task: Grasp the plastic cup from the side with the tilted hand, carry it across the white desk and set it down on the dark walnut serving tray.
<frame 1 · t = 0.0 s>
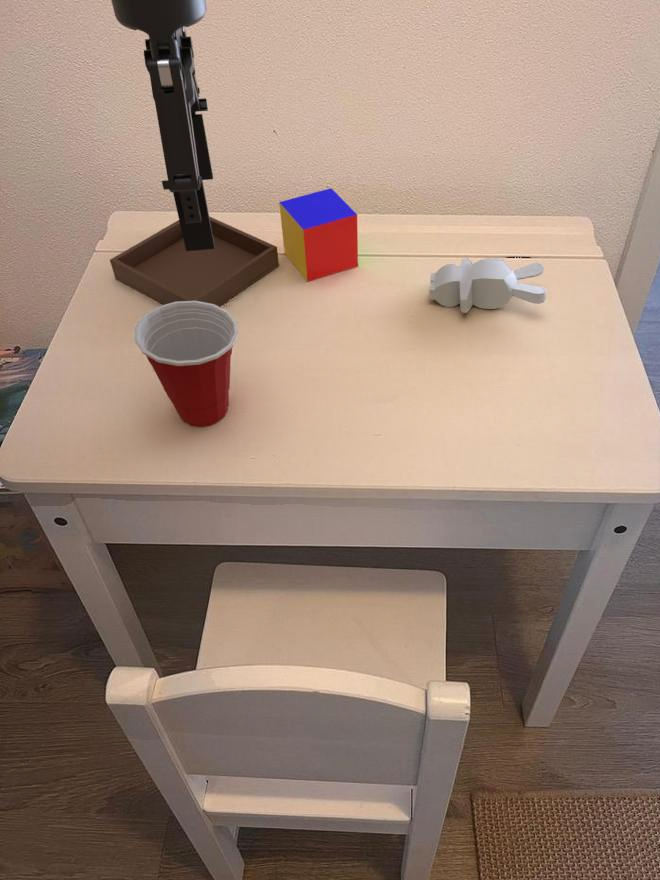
hand: (200, 211, 73), 21 cm above the table, tool pointing down, fingers open, 13 cm apart
plastic cup: (206, 410, 85), on the table
tray: (198, 272, 102), on the table
cube: (320, 260, 104), on the table
bunny figurine: (484, 301, 98), on the table
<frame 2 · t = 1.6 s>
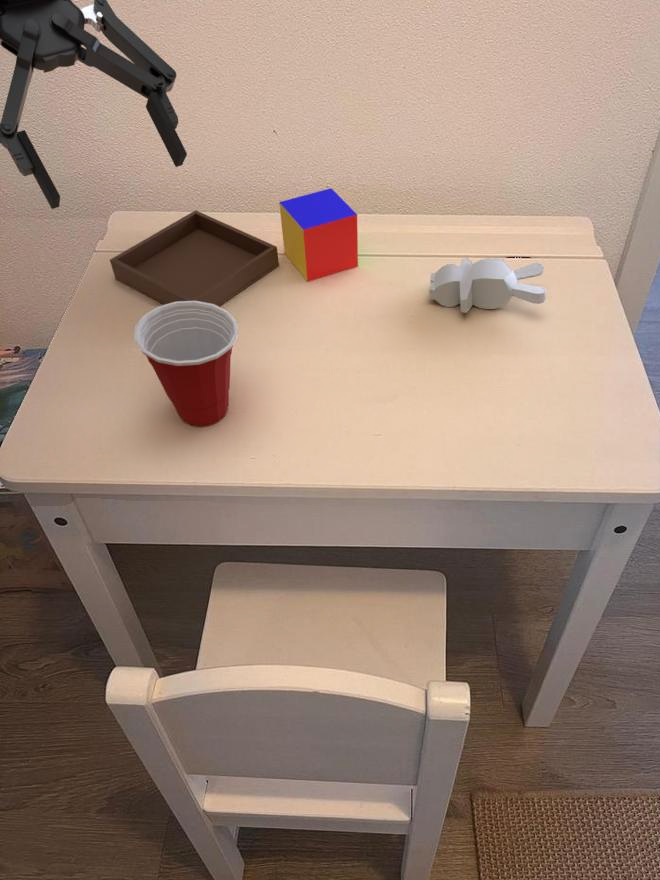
hand: (121, 181, 72), 23 cm above the table, tool tilted 45°, fingers open, 13 cm apart
nothing on the table moved.
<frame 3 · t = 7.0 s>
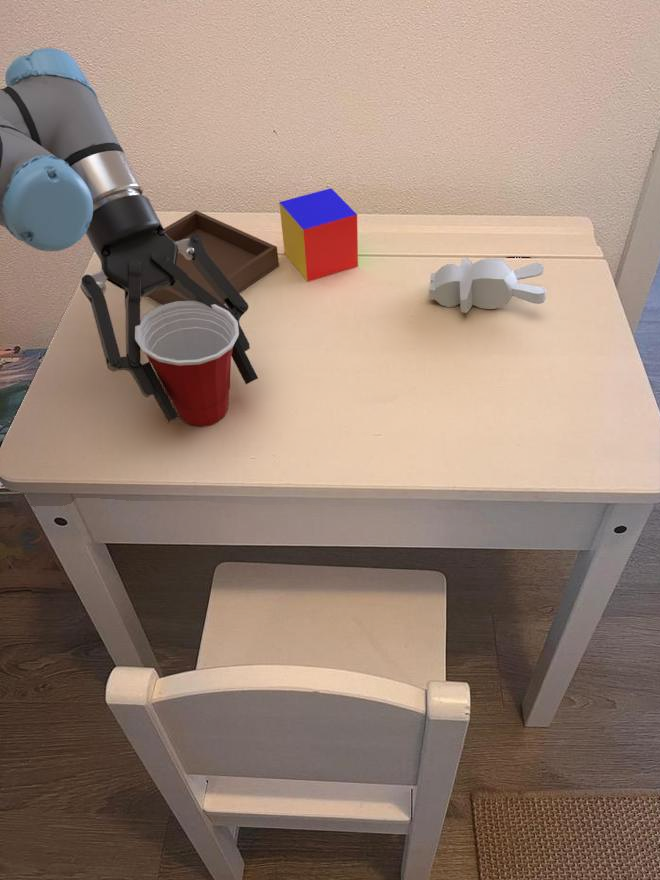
hand: (213, 400, 80), 4 cm above the table, tool tilted 45°, fingers closed on plastic cup, 9 cm apart
plastic cup: (205, 410, 85), on the table, touching gripper
everything else where it was.
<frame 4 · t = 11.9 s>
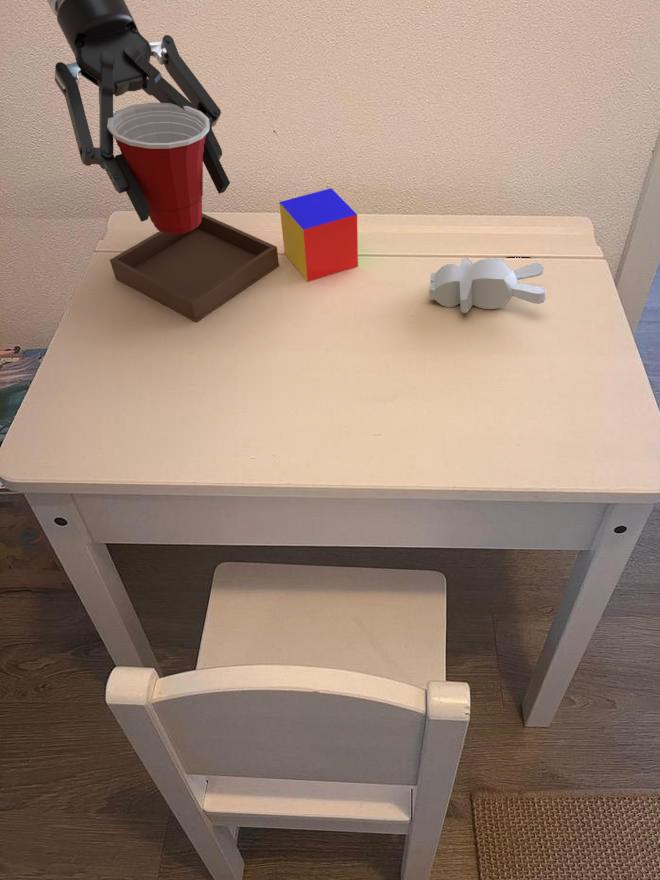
hand: (186, 202, 82), 17 cm above the table, tool tilted 45°, fingers closed on plastic cup, 9 cm apart
plastic cup: (180, 223, 86), point 13 cm above the table, touching gripper
everything else where it was.
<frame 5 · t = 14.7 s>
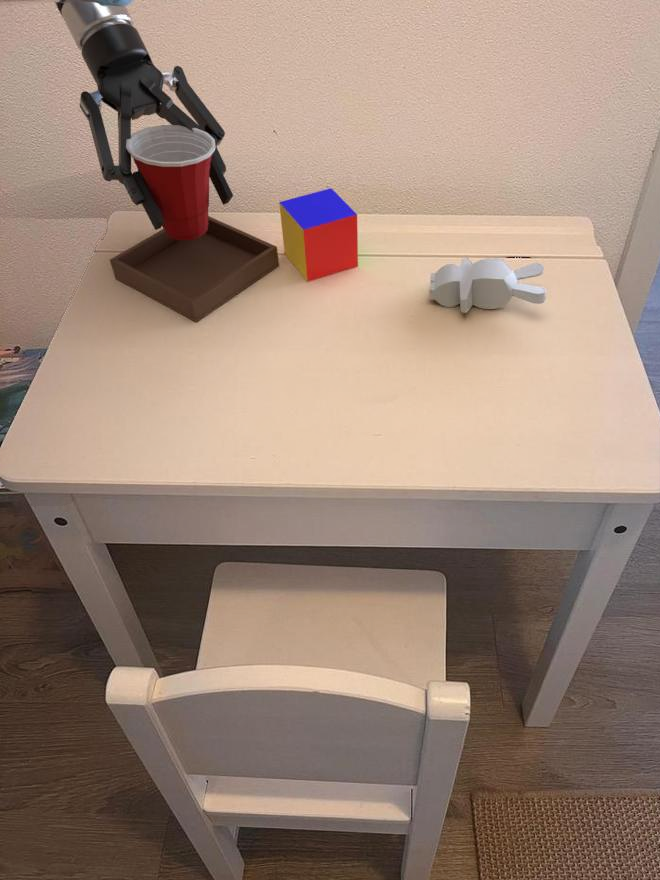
hand: (194, 212, 93), 11 cm above the table, tool tilted 45°, fingers closed on plastic cup, 9 cm apart
plastic cup: (188, 230, 97), point 7 cm above the table, touching gripper
everything else where it was.
when the fingers open (4 cm above the table, at t = 16.9 s): plastic cup stays where it is, resting on tray.
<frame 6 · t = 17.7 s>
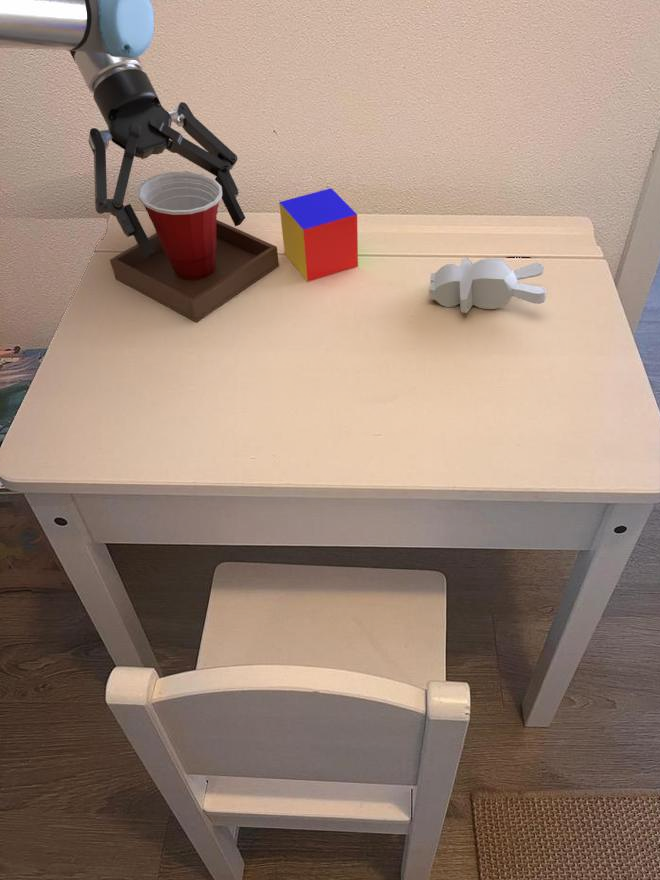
hand: (196, 239, 96), 6 cm above the table, tool tilted 45°, fingers open, 13 cm apart
plastic cup: (197, 269, 102), resting on tray
everything else where it was.
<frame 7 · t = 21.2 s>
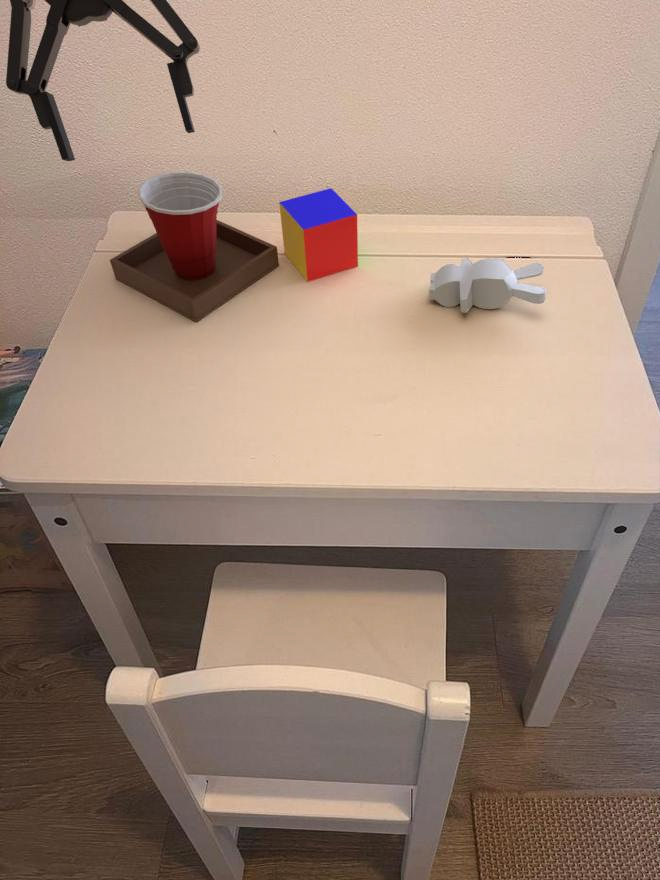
hand: (129, 146, 79), 23 cm above the table, tool tilted 30°, fingers open, 13 cm apart
nothing on the table moved.
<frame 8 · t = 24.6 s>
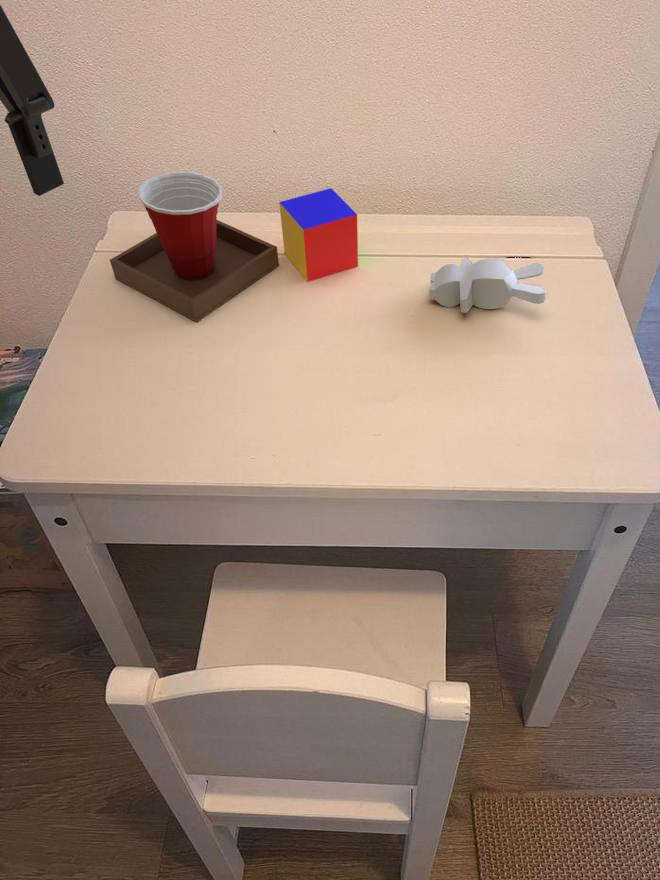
hand: (4, 167, 67), 27 cm above the table, tool pointing down, fingers open, 13 cm apart
nothing on the table moved.
at the end: plastic cup inside the target area in the tray (0.0 cm from its centre), point 0.4 cm above the tray's base; plastic cup tilted 0°; the gripper is holding nothing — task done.
